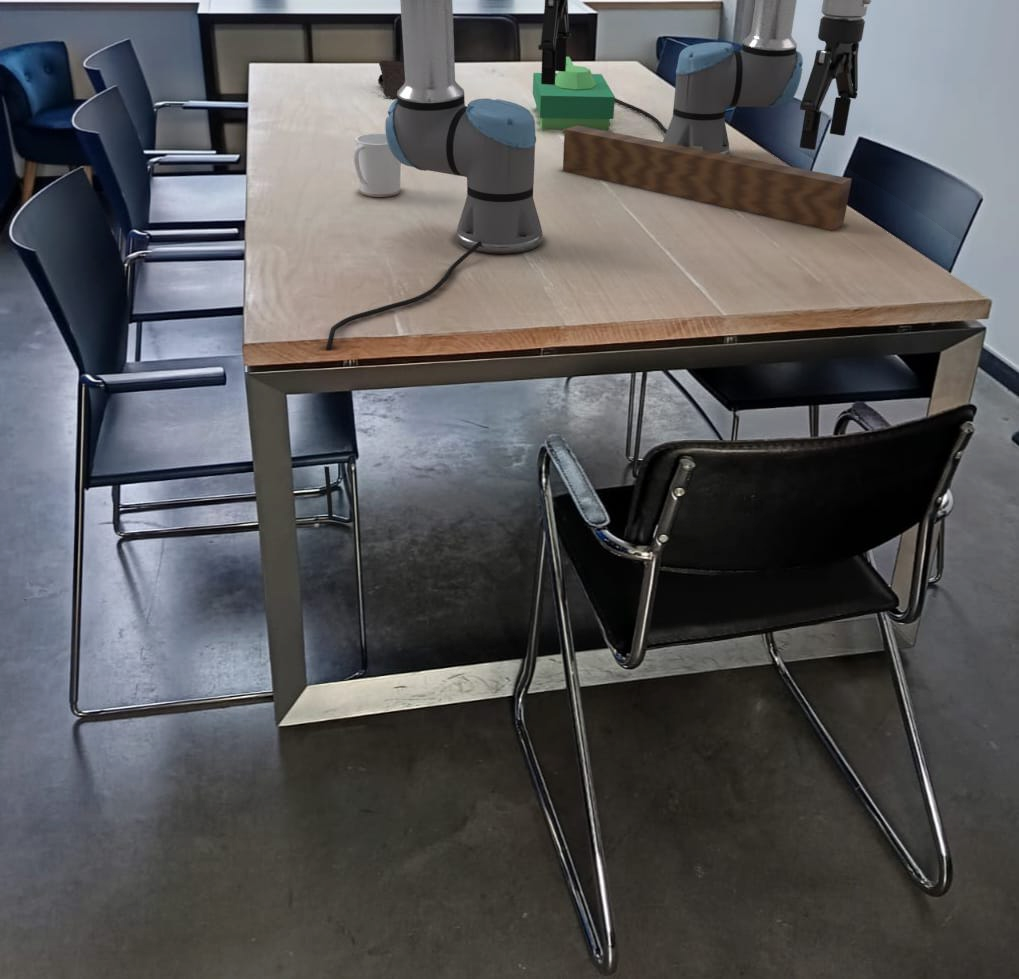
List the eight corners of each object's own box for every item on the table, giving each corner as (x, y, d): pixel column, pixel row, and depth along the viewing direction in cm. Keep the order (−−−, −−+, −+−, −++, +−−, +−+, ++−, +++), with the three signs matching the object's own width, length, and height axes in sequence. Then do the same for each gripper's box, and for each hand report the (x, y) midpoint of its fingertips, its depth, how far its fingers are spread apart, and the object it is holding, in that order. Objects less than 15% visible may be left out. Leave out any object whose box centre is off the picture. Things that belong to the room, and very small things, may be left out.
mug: (380, 182, 225) (378, 131, 219) (411, 190, 220) (410, 138, 215) (340, 193, 218) (337, 140, 212) (372, 202, 213) (370, 149, 207)
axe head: (443, 87, 294) (392, 77, 287) (436, 115, 299) (385, 106, 292) (421, 62, 307) (371, 52, 300) (414, 89, 311) (365, 80, 304)
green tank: (599, 53, 287) (616, 80, 258) (595, 101, 294) (612, 133, 264) (532, 51, 286) (541, 79, 257) (530, 100, 293) (539, 132, 263)
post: (562, 171, 235) (564, 129, 231) (574, 166, 239) (576, 125, 234) (833, 230, 204) (842, 183, 200) (843, 224, 207) (851, 178, 203)
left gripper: (566, -28, 204) (562, 91, 215) (585, -43, 224) (580, 66, 236) (527, -30, 205) (524, 88, 216) (549, -44, 226) (546, 64, 237)
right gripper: (835, 27, 180) (814, 158, 191) (890, 11, 197) (867, 132, 208) (793, 22, 183) (774, 150, 194) (850, 7, 200) (830, 125, 212)
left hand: (553, 77), depth 226 cm, fingers open, 13 cm apart
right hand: (822, 141), depth 201 cm, fingers open, 13 cm apart
